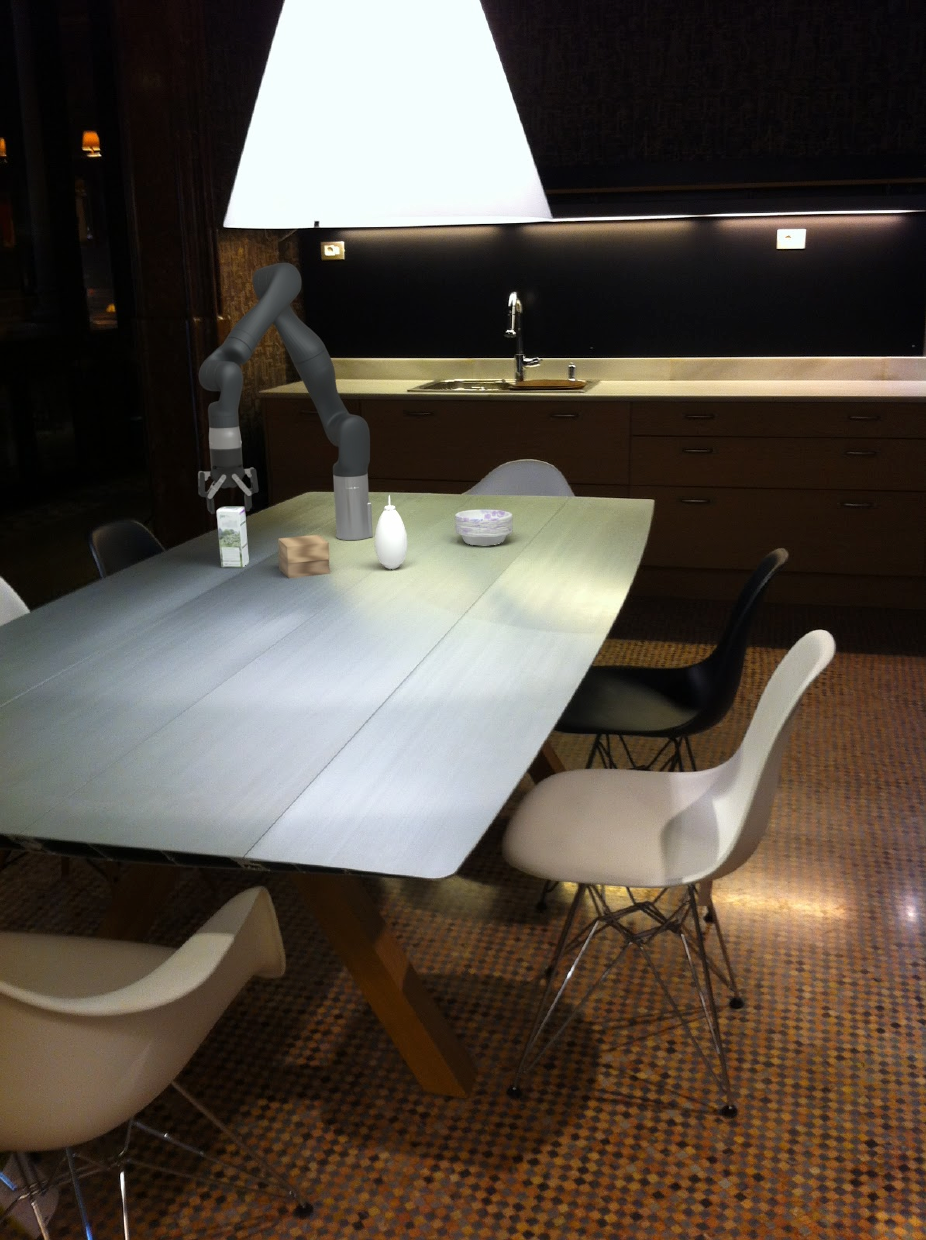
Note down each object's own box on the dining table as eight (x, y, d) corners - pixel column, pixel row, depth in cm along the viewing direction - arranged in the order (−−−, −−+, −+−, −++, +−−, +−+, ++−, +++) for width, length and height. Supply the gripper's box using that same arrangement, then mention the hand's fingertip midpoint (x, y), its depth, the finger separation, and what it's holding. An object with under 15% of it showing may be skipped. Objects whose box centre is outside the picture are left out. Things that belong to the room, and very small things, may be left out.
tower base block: (319, 566, 287) (318, 550, 286) (329, 575, 278) (329, 558, 277) (279, 570, 284) (278, 554, 282) (289, 579, 275) (287, 563, 273)
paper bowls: (514, 536, 313) (514, 507, 311) (511, 549, 299) (510, 519, 296) (458, 536, 315) (457, 507, 312) (452, 549, 300) (451, 519, 298)
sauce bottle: (403, 572, 277) (401, 498, 272) (372, 572, 279) (368, 497, 274) (411, 565, 284) (409, 492, 279) (380, 564, 286) (377, 492, 281)
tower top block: (319, 550, 286) (318, 534, 285) (329, 559, 277) (328, 542, 276) (279, 554, 282) (278, 538, 281) (288, 563, 273) (287, 546, 272)
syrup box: (249, 562, 291) (245, 505, 287) (243, 568, 285) (238, 510, 281) (227, 562, 291) (222, 505, 287) (220, 568, 286) (215, 510, 282)
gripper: (251, 442, 286) (255, 507, 290) (193, 445, 281) (198, 511, 285) (258, 445, 279) (262, 512, 284) (198, 449, 274) (203, 517, 279)
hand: (230, 511), depth 285 cm, fingers open, 8 cm apart
